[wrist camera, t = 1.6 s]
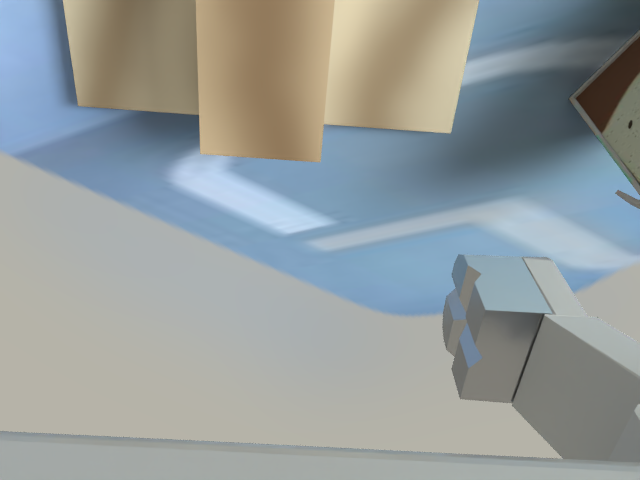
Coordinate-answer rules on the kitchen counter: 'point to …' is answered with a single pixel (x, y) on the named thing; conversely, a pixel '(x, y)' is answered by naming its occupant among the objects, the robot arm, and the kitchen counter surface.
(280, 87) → the block
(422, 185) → the kitchen counter surface
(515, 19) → the kitchen counter surface
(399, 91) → the board
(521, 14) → the kitchen counter surface
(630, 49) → the food container
